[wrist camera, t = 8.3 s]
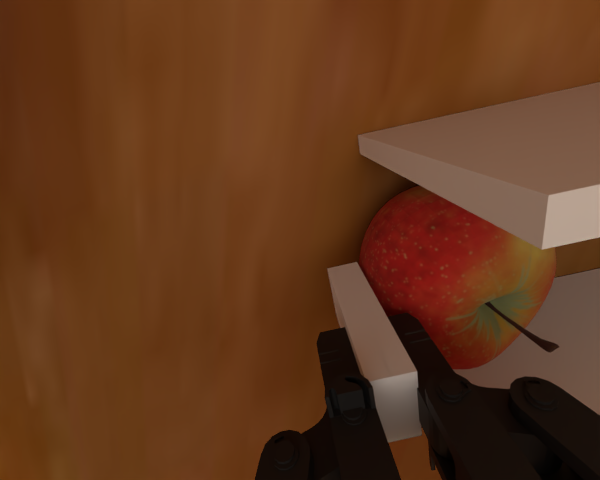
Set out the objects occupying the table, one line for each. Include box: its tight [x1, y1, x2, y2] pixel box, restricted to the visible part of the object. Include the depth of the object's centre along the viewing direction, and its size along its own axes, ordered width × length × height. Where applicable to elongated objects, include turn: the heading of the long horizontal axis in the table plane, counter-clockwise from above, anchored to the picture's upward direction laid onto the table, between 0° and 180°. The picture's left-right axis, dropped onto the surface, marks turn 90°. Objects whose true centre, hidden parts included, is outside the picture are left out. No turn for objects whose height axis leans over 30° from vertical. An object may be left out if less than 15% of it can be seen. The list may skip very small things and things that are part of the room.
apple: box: [359, 186, 559, 370], centre depth 14 cm, size 8×8×10 cm
